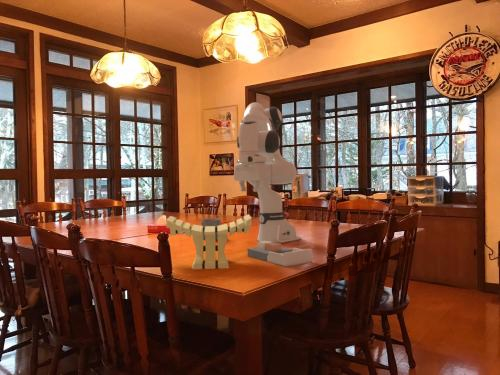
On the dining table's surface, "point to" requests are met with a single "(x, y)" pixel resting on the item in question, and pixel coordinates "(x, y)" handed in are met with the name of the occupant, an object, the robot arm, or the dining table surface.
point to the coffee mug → (211, 222)
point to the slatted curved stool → (209, 239)
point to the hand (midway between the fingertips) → (249, 191)
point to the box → (290, 257)
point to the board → (263, 252)
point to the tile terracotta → (273, 247)
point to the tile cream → (263, 244)
